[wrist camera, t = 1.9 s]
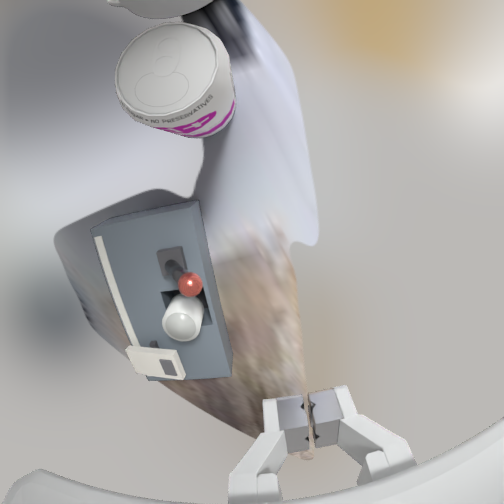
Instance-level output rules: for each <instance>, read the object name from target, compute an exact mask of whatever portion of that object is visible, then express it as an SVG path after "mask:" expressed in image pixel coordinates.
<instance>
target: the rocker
mask: <svg viewBox="0 0 504 504" xmlns="http://www.w3.org/2000/svg"><path fill="white" fill-rule="evenodd" d="M125 351H126V353H127V355H128V357H129V359H130V361H131V363H132V365H133V367H134V369H135V371H136V373H137V374H142V375H149V376H155V377H162V378H170V379H178V380H184V378H185V376H186V373H185V371H184V368H183V366H182V363H181V361H180V358H179V355H178V353H177V350H171V349H159V348H149V347H139V346H130V345H129V346H128V347H127V348H126V350H125Z"/></svg>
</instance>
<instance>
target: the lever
mask: <svg viewBox="0 0 504 504" xmlns="http://www.w3.org/2000/svg"><path fill="white" fill-rule="evenodd" d="M165 270H166V271H167V273H168V274H169V275H170V276H171V277H172V278H173V279H174V280H175V281H176V282H177V284H178V288H179V291H180V292H181V293H182V294H183V295H184V296H187V297H194V296H196V295H198V294H199V293H200V292H201V290H202V287H203V283H202V280H201V278H200V276H199V275H198V274H196V273H193V272H188V271H187V270H186V269H185V268H184V267H182V266H181V265H180V264H179V263H178V262H177V261H175V260H173V259H170V260H168V261H166V263H165Z"/></svg>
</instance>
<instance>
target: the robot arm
mask: <svg viewBox="0 0 504 504" xmlns="http://www.w3.org/2000/svg"><path fill="white" fill-rule="evenodd" d="M107 1H108V3H109V4H110V5H111V6H117V7H125V8H127V9H128V10H130V11H131V12H132V13H134V14H136V15H138V16H140V17H144V18H150V19H165V18H172V17H177V16H181V15H185V14H188V13H190V12H193V11H195V10H198V9H200V8H202V7H203V6H205V5H207V4H209V3H210V2H212V1H213V0H107ZM276 400H277V401H276ZM308 402H309V405H308V412H309V419H310V424H311V427H312V428H313V438H314V443H315V447H316V448H319V447H325V446H330V445H334V444H337V445H338V446H339V447H340V448H341V449H342V450H343V451H345V452H346V453H347V454H348V455H350V456H351V457H352V458H353V459H354V460H355V461H357V462H358V463H359V464H360V465H362V469H361V472H360V474H359V477H358V479H357V485H358V486H356V487H352V488H348V489H344V490H340V491H336V492H331V493H327V494H322V495H317V496H311V497H306V498H299V499H292V500H285V501H283V497H282V493H281V489H280V485H279V481H278V477H277V473H278V471H279V470H280V468H281V466H282V464H283V463H284V461H285V459H286V457H287V455H288V453H293V452H298V451H303V450H308V449H309V438H308V436H309V426H308V420H307V415H306V411H305V410H304V401H303V397H302V394H301V395H294V396H287V397H279V398H272V399H264V400H263V418H264V433H260V435H259V436H258V438H257V439H256V440H255V442H254V443H253V445H252V446H251V447H250V449H249V450H248V451H247V453H246V454H245V455H244V457H243V458H242V459H241V461H240V462H239V463H238V465H237V466H236V467H235V468H234V470H233V471H232V472H231V473H230V475H229V494H228V504H504V417H503V418H501V419H500V420H499V421H497V422H496V423H494V424H492V425H491V426H489V428H486V429H485V430H483V431H482V432H480V433H478V434H477V435H475V436H473V437H472V438H470V439H468V440H467V441H465V442H463V443H461V444H460V445H458V446H456V447H454V448H453V449H450V450H448V451H446V452H444V453H442V454H440V455H438V456H436V457H434V458H432V459H430V460H428V461H425V462H423V463H421V464H418V465H417V464H416V461H415V459H414V457H413V455H412V452H411V450H410V448H409V446H408V444H407V441H406V440H405V439H403V438H401V437H399V436H398V435H396V434H394V433H392V432H391V431H389V430H387V429H386V428H384V427H382V426H380V425H379V424H377V423H376V422H374V421H372V420H371V419H369V418H367V417H366V416H364V415H363V414H360V415H358V413H357V411H356V409H355V405H354V403H353V400H352V398H351V395H350V393H349V390H348V388H347V386H346V385H343V386H339V387H334V388H329V389H324V390H320V391H315V392H310V393H308ZM2 504H194V503H182V502H171V501H163V500H155V499H148V498H142V497H136V496H131V495H126V494H121V493H117V492H112V491H108V490H104V489H100V488H97V487H93V486H90V485H86V484H83V483H80V482H77V481H74V480H71V479H68V478H65V477H62V476H59V475H57V474H54V473H52V472H49V471H46V470H43V469H38V470H35V471H33V472H31V473H29V474H27V475H25V476H23V477H22V478H20V479H18V480H17V481H16V482H14V484H13V485H12V487H11V488H10V489H9V491H8V493H7V495H6V497H5V499H4V501H3V503H2ZM195 504H196V503H195Z"/></svg>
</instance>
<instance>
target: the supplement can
mask: <svg viewBox="0 0 504 504" xmlns="http://www.w3.org/2000/svg"><path fill="white" fill-rule="evenodd" d="M115 87H116V93H117V96H118V99H119V101H120V103H121V106H122V108H123V109H124V110H125V111H126V112H127V113H128V114H129V115H130V116H131V117H132V118H133V119H134V120H135V121H137V122H140V123H143V124H145V125H148V126H150V127H153V128H157V129H160V130H164V131H168V132H171V133H174V134H178V135H181V136H184V137H188V138H204V137H208V136H211V135H214V134H216V133H217V132H219V131H220V130H222V129H223V128H225V126H226V125H227V124H228V122H229V121H230V120H231V119H232V117H233V114H234V111H235V108H236V95H235V88H234V83H233V77H232V71H231V65H230V59H229V55H228V53H227V51H226V49H225V47H224V45H223V43H222V41H221V40H220V39H219V38H218V37H217V36H215V35H214V34H213V33H211V32H210V31H209V30H208V29H206V28H202V27H199V26H196V25H192V24H188V23H184V22H170V23H162V24H159V25H157V26H154V27H151V28H149V29H147V30H145V31H144V32H142V33H141V34H139V35H138V36H137V37H135V38H134V39H133V40H132V41H131V42H130V43H129V44H128V46H127V47H126V48H125V49H124V51H123V52H122V53H121V56H120V58H119V61H118V63H117V66H116V69H115Z"/></svg>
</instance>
